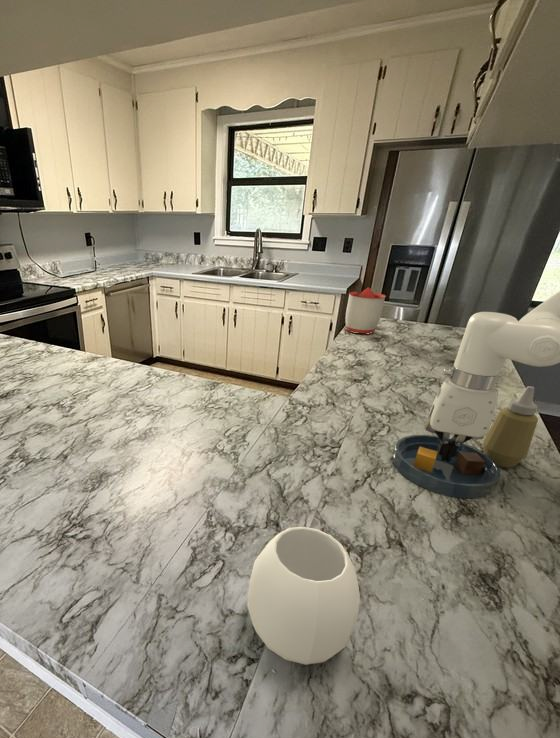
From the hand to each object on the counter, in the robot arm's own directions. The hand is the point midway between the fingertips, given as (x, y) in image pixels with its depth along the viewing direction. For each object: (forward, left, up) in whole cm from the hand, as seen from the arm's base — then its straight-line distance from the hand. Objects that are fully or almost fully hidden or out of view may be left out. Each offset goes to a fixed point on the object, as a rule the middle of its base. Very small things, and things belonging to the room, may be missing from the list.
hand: (443, 457), depth 85 cm
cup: (+25, +49, -3) cm, 55 cm away
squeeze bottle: (-13, -7, -3) cm, 15 cm away
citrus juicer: (+15, -114, -3) cm, 115 cm away
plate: (0, +2, -2) cm, 3 cm away
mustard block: (+4, +2, -2) cm, 5 cm away
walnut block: (-5, 0, -2) cm, 5 cm away
